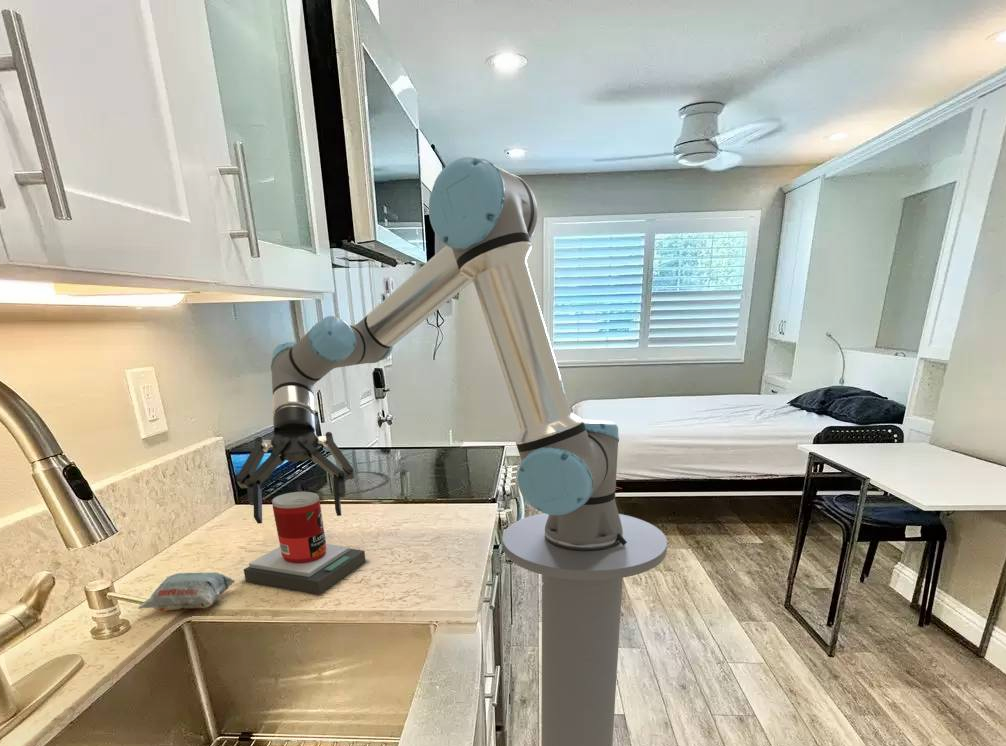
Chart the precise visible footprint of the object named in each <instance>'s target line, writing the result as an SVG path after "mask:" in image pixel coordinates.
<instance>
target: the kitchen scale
mask: <svg viewBox="0 0 1006 746" xmlns="http://www.w3.org/2000/svg"><path fill="white" fill-rule="evenodd" d="M326 547H327V549H326V554H325V555H324V556H323V557H322V558H320V559H318V560H315V561H312V562H307V563H291V562H288V561H286V560H284V558H283V556H282V554H281V549H280V546H279V547H276V548H275V549H273V550H272V551H270V552H267V553H266V554H263V555H262V556H260V557H258V558H256V559H254V560H252V561H251V562H249V563H248V566H247V567H245V568H244V569H243V575H244V579H245V582H247V583H252V584H258V585H264V586H270V587H276V588H282V589H288V590H293V591H297V592H304V593H310V594H316V595H321V594H322V593H324V592H326V590H327V591H328V589H329V588H332V586H334V585H336V584H337V583H338V582H339V581H341V580H342V579H344V578H345V577H347V576H348V575H350V574H351V573H352V572H354V571H355V570H356V569H358V568H359V567H361V566H362V565H364V564H365V563H366V562H367V560H366V551H365V550H364V549H358V548H357V549H356V548H351V547H350V546H344V545H338V544H331V543H326Z"/></svg>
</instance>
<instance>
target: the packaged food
mask: <svg viewBox="0 0 1006 746" xmlns="http://www.w3.org/2000/svg"><path fill="white" fill-rule="evenodd" d="M233 584H235V580H234V579H233V578H231V577H229V576H227V575H225V574H223V573H220V572H215V571H214V572H213V571H212V572H177V573H174V574H172V575H169V576H168V577H166V578H165V579H164V580H163V581H162V582H161V583H160V584H159V586H158V587H157V588H156V589H155V590H154V591H153V593H152V594H151V596H150V598H147V600H145V601H144V602H143V603H141V604H140V605H138V608H137V609H139V610H142V609H154V610H157V611H172V610H173V611H174V610H197V609H206V608H209V607H210V606H213V603H214V602H216V600H217V599H218V597H220V596H221V595H222V594H223V593H224V592H226V590H228V589H229V588H230V586H232V585H233Z"/></svg>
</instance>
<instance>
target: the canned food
mask: <svg viewBox="0 0 1006 746" xmlns="http://www.w3.org/2000/svg"><path fill="white" fill-rule="evenodd" d="M271 503H272V504H271V506H272V511H273V516H274V521H275V522H274V523H275V526H276V532H277V537H278V542H279V547H280V549H281V554H282V556H283V558H284V560H286V561H288V562H291V563H307V562H312V561H315V560H318V559H320V558H322V557H323V556H324V555H325V554H326V549H327V547H326V544H327V541H326V534H325V527H324V521H323V520H324V519H323V514H322V506H321V501H320V497H319V494H318V493H315V492H311V491H294V492H293V491H292V492H287V493H283V494H280V495H276V496H275V497H274V498H272V500H271Z"/></svg>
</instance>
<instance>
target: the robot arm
mask: <svg viewBox="0 0 1006 746" xmlns="http://www.w3.org/2000/svg"><path fill="white" fill-rule="evenodd" d="M432 186H433V187H432V190H431V191H430V193H429V200H428V216H429V222H430V225H431V228H432V230H433V232H434V234H435V235H436V236H437V238H438V239H439V240H440V241H441V242H442V243H443V244H444V245H445V246H443V247H442V248H441V249H439V251H438V252H436V253H435V254H434V255H433V256H431V258H430V259H428V260H427V261H426V262H425V263H424V264H423V265H422V266H421V267H419V268H418V269H417V270H416V271H415V272H414V273H413V274H412V275H411V276H409V277H408V278H407V279H406V280H404V282H403V283H402V284H400V285H399V286H398V287H397V288H396V289H395V290H393V292H392V293H390V294H389V295H388V296H387V297H386V298H385V299H384V300H383V301H381V302H380V303H379V304H378V305H376V307H375V308H373V309H372V310H371V311H370V312H369V313H368V314H367V315H366V316H364V318H362V319H361V320H360V321H358V322H357V323H356V324H351V325H349V324H348V323H347V322H346V321H345V320H343V319H341V318H340V319H339V318H338V316H335V315H327V316H325V317H324V318H322V319H321V320H320V321H318V322H316V323H315V324H314V325H313V326H312V327H311V328H310V330H309V331H307V333H305V334H304V335H303V336H302V338H301V339H299V341H297V342H294V341H286V342H285V343H280V344H278V345H276V347H274V349H273V350H272V353H271V364H270V370H271V386H272V387H271V388H272V414H273V416H272V420H273V421H272V423H273V436H272V438H271V439H263V438H262V437H261V436H257V437H255V439H254V446H253V449H252V450H251V452H250V453H249V455H248V457H247V459H246V460H245V461H244V463H243V465H242V468H241V469H240V470H239V472H238V474H237V476H236V478H235V481H236V483H237V484H238V486H239V488H241V489H247V493H246V494H247V498H246V499H247V501H248V503H249V505H250V506H253V518H254V520H255V522H256V523H257V524H263V492H262V491H263V490H262V489H261V486H262V484H263V483H264V482H265V481H266V480H267V479H268V478H269V477H270V476H271V475H272V473H274V472H275V470H276V469H278V467H279V466H282V465H283V464H284V462H286V461H287V462H288V463H293V462H295V461H301V462H303V461H304V462H305V461H307V460H308V459H310V460H311V461H312V462H314V463H316V465H318V466H319V467H321V469H323V470H324V471H325V472H327V473H328V474H329V475H330V476H331V477H332V484H333V496H334V497H333V498H334V510H335V513H336V516H337V517H341V516H342V505H341V498H346V496H347V490H346V482H347V481H348V480H354V479H355V478H356V475H355V471H354V470H355V469H354V467H353V466H352V465H351V464H350V462H349V461H348V460H347V458H346V457H345V455H344V454H343V452H342V451H341V449H340V448H339V447H338V446H337V444H336V442H335V440H334V435H333V433H332V432H331V431H327V432H325V435H319V436H318V435H317V430H316V429H317V427H316V426H317V425H316V416H315V415H316V412H315V411H316V409H315V395H314V386H315V384H317V382H318V381H320V380H321V379H323V378H324V377H325V376H326V375H328V374H329V373H330V372H331V371H333V370H334V369H336V368H337V369H338V368H345V367H350V366H352V367H353V366H357V365H363V364H364V365H365V364H376V363H378V362H380V361H385V360H386V359H387V358H388V357H390V355H391V354H392V350H393V349H394V345H396V344H397V343H398V342H399V341H401V340H402V339H403V338H405V337H406V336H407V335H408V334H410V333H411V332H412V331H414V329H415V328H417V327H418V326H420V325H421V324H422V323H423V322H425V321H426V320H427V319H428V318H429V317H431V316H432V315H433V314H434V313H435V312H437V311H438V310H439V309H440V308H442V307H443V306H444V305H445V304H447V303H448V302H449V301H451V300H452V299H453V298H454V297H455V296H457V295H458V294H459V293H461V292H462V291H463V290H464V289H466V288H467V287H468V286H469V285H470V284H472V283H473V285H474V287H475V292H476V294H477V297H478V301H479V303H480V307H481V310H482V314H483V316H484V319H485V323H486V325H487V329H488V332H489V335H490V338H491V341H492V344H493V347H494V351H495V354H496V356H497V359H498V362H499V366H500V369H501V372H502V374H503V378H504V381H505V384H506V388H507V390H508V394H509V398H510V401H511V403H512V407H513V409H514V412H515V415H516V419H517V421H518V424H519V427H520V432H519V435H518V436H517V438H516V440H515V445H516V448H517V451H518V454H519V457H520V460H521V462H520V465H519V468H518V471H517V487H518V489H519V491H520V494H521V496H522V497H523V499H524V500H525V502H527V503H528V504H529V505H530V506H531V507H532V508H533V509H535V510H537V511H539V512H540V513H545V514H549V516H548V519H547V522H546V525H545V539H546V540H547V541H548V542H549V543H550V544H552V545H554V546H557V547H559V548H563V549H567V550H574V551H599V550H605V549H609V548H612V547H614V546H616V545H618V544H619V543H620V542H621V543H622V544H623V545H625V544H626V543H627V541H626V540H625V539H624V538H623V529H622V524H621V521H620V517H619V514H620V513H619V509H618V506H617V503H616V487H617V472H618V471H617V469H618V456H619V455H618V453H619V443H620V437H619V427H618V425H617V424H616V423H615V422H612V421H606V420H597V419H596V420H595V419H593V420H592V419H583V418H581V417H579V416H578V415H576V414H574V413H572V411H571V408H570V404H569V401H568V398H567V393H566V391H565V387H564V385H563V381H562V377H561V374H560V371H559V368H558V364H557V361H556V357H555V354H554V350H553V348H552V345H551V341H550V337H549V334H548V332H547V327H546V324H545V321H544V318H543V314H542V311H541V308H540V305H539V301H538V298H537V295H536V292H535V288H534V285H533V281H532V277H531V274H530V271H529V268H528V263H527V259H528V256H529V254H530V252H531V250H532V243H531V240H532V238H533V236H534V234H535V232H536V229H537V226H538V219H539V209H538V207H539V206H538V202H537V199H536V196H535V194H534V192H533V190H532V188H531V187H530V185H529V184H528V183H527V182H526V181H525V180H523V178H521V177H519V176H518V175H516V174H514V173H511V172H509V171H506V170H505V169H503V168H501V167H500V166H499V167H498V166H497V165H495V163H493V162H491V161H490V160H487V159H486V158H485V159H484V158H477V157H472V156H465V157H460V158H457V159H455V160H453V161H452V162H450V163H448V164H446V166H445V167H444V168H443V169H442V170H441V171H440V172H439V174H438V175H437V177H436V179H435V180H434V183H433V185H432ZM320 444H321V445H322V446H323V447H324V448H326V449H328V450H329V453H330V454H331V455H332V457H333V458H334V460H335V461H336V463H337V464H338V465H339V467H340V468H341V469H340V468H339V467H338V466H337V465H336V464H334V463H333V462H332V461H331V460H330V459H328V458H327V457H326V456H325V455H323V454H322V453H321V452H320V451H319V450H318V447H319V446H320ZM271 448H272V449H273V450H272V451H271V452H270V454H269V456H268V457H267V458H266V459H265V460H264V461H263V463H262V464H261V462H262V460H263V458H264V456H265V453H268V451H269V449H271ZM260 464H261V465H260ZM259 465H260V466H259Z"/></svg>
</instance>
